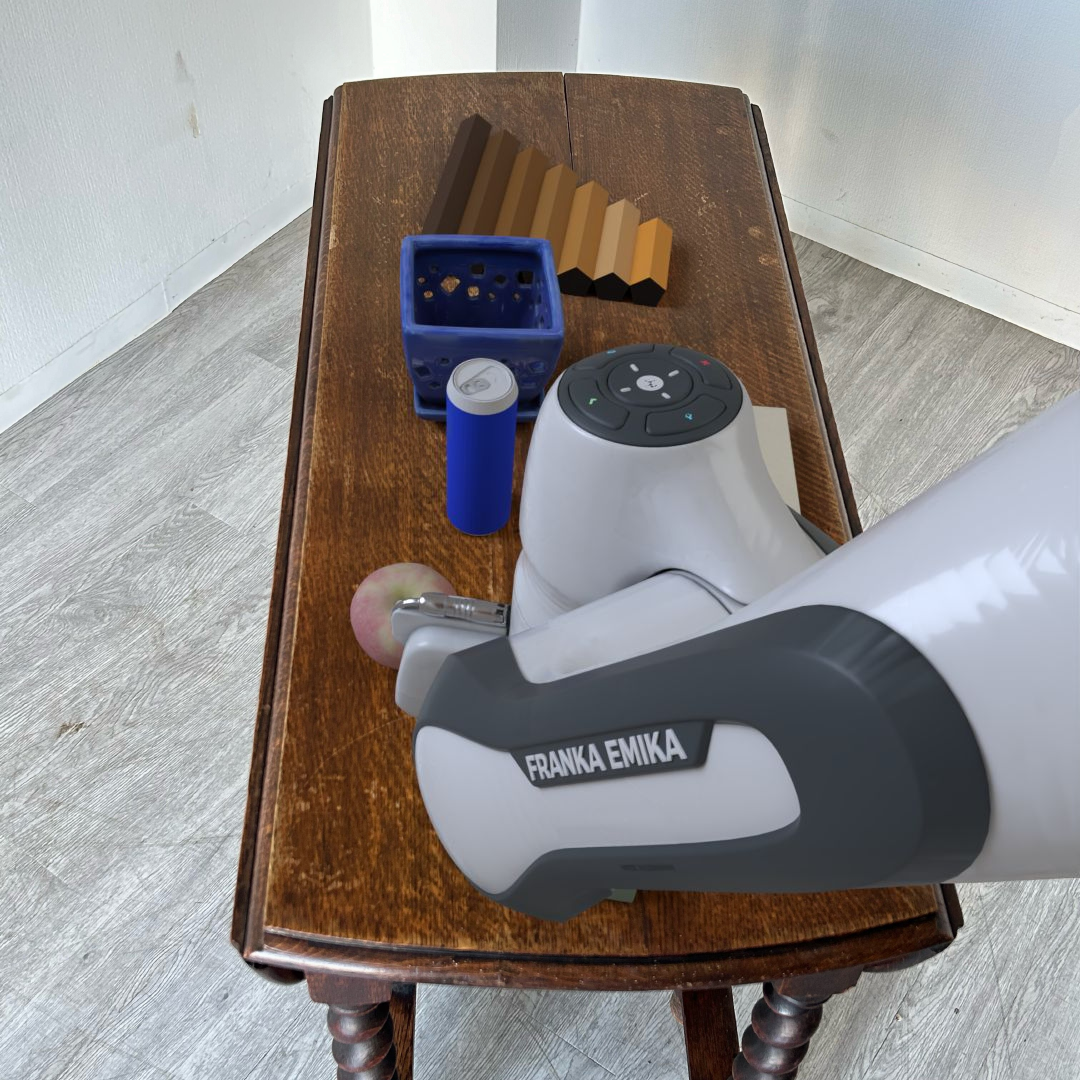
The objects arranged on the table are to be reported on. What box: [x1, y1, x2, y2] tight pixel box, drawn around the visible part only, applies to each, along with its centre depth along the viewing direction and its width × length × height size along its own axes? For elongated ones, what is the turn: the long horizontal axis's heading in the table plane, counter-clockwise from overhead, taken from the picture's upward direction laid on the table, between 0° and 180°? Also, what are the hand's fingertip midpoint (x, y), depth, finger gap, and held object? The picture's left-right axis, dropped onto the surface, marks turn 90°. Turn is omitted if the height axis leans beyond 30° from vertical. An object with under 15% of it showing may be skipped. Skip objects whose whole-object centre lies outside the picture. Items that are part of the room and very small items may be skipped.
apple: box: [349, 562, 458, 671], centre depth 79 cm, size 8×8×8 cm
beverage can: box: [446, 358, 518, 537], centre depth 85 cm, size 5×5×15 cm
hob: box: [752, 405, 802, 516], centre depth 92 cm, size 21×9×3 cm, turn 178°
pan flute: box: [419, 112, 674, 308], centre depth 117 cm, size 25×3×25 cm
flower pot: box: [399, 234, 566, 423], centre depth 96 cm, size 13×13×12 cm
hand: (573, 759), depth 64 cm, fingers closed
